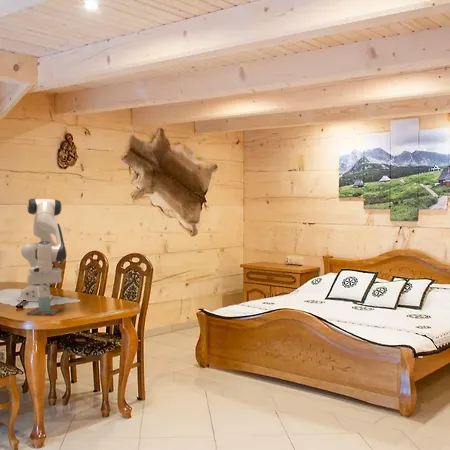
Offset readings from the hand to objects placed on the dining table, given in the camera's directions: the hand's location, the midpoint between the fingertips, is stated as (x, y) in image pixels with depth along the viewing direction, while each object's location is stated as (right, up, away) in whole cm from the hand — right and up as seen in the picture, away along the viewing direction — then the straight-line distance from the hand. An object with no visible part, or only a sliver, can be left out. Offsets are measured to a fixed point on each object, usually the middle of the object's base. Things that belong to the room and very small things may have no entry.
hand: (44, 291), depth 365 cm
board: (0, -13, +1) cm, 13 cm away
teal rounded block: (0, -12, +1) cm, 12 cm away
